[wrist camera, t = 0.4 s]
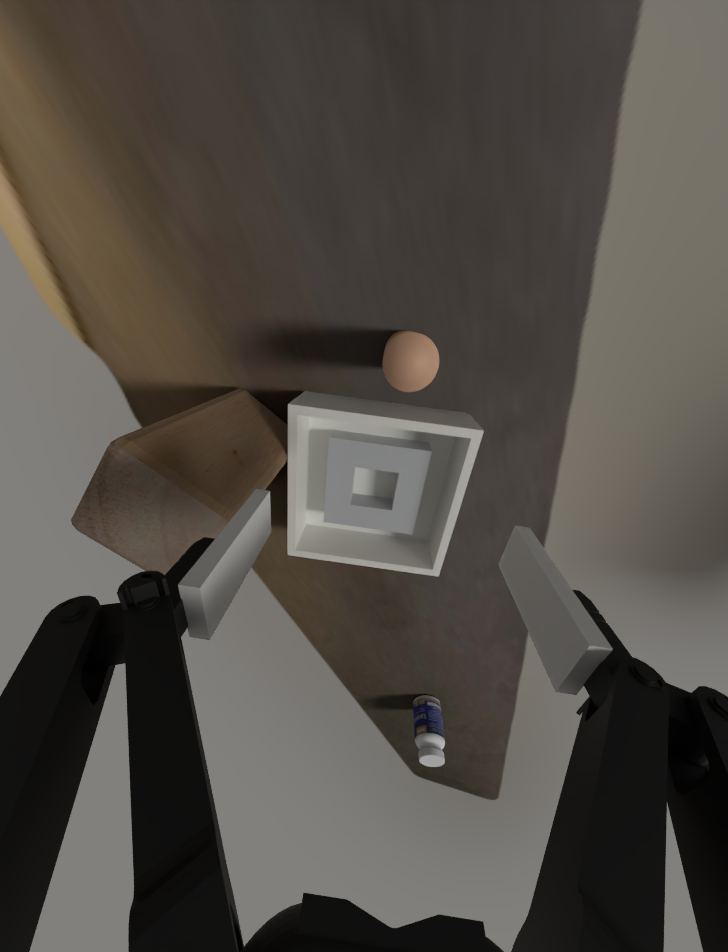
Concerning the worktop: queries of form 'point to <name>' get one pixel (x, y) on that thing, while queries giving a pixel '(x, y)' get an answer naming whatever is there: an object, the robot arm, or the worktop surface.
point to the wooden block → (181, 479)
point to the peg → (410, 361)
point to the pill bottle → (429, 730)
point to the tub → (376, 480)
